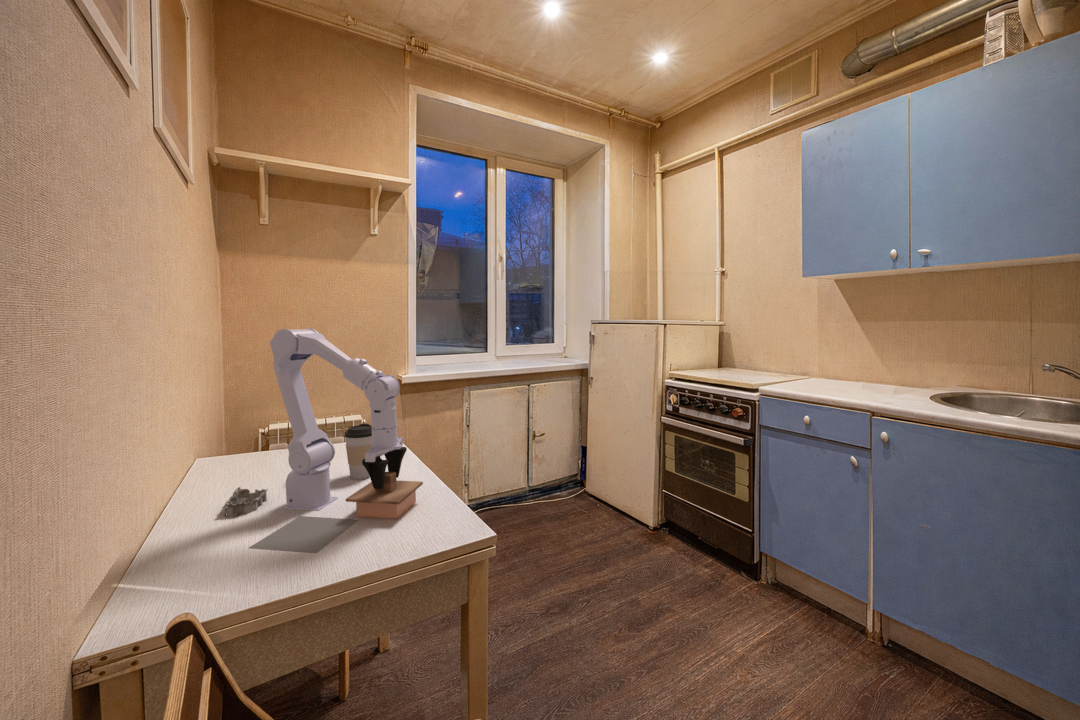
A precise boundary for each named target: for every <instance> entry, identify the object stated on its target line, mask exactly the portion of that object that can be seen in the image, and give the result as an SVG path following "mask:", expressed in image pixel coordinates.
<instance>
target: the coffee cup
mask: <svg viewBox="0 0 1080 720" xmlns="http://www.w3.org/2000/svg"><path fill="white" fill-rule="evenodd" d="M344 437H345V448H346V449H345V451H346V456H347V458H346V459H347V463H348V468H349V469H348V470H349V476H350V479H352V478H354V479H353V480H363V479H362V478H365V479H368V478H367V477H370V476H369V474H368V472H367V470H366V468H365V467H364V466H363V464H362V460H363V459H365V453H367V452H368V451H369V449H370V448H371V446H372V425H371V424H369V423H361V424H358V425H352V426H350V427H348V429H347V430H346V431H345V432H344Z"/></svg>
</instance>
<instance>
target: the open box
mask: <svg viewBox="0 0 1080 720" xmlns="http://www.w3.org/2000/svg"><path fill="white" fill-rule="evenodd" d="M416 491H417V490H415V491H414V492H413V493H412V494H411V495H410V496H408V497H407V498H406V499H405V500H404V501H403V502H401V503H400V504H381V503H362V502H355V505H356V518H357V517H358V518H370V519H371V518H372V519H374V518H375V519H388V520H398V519H399V518H400V517H402V515H404V514H405V513H406V512H407V511H408V510H409V509H410V508H411V507H412V506H413V505H414V504H416V502H417V500H416V499H417V496H416V495H417V494H416V493H417V492H416Z"/></svg>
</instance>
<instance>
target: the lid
mask: <svg viewBox="0 0 1080 720" xmlns="http://www.w3.org/2000/svg"><path fill="white" fill-rule="evenodd" d="M423 484H424V482H423V481H419V480H418V481H416V480H413V481H412V480H397V478H396V472H388V471H385V477H384V486H383V488H382V489H374V488H373V485H372V482H369V483H368V484H366V485H365V486H362V488H360V489H359V490H357V491H355V492H354V493H352V494H351V495H349V496H347V497H346V498H345V503H346V502H347V503H348V502H349V503H356V502H362V503H381V504H400V503H401V502H403V501H404V500H405V499H406V498H407V497H408V496H410V495H411V494H412V493H413V492H414V491H415V490H416V491H417V490H418V489H419V488H420V487H421V486H423Z"/></svg>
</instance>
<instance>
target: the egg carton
mask: <svg viewBox="0 0 1080 720" xmlns="http://www.w3.org/2000/svg"><path fill="white" fill-rule="evenodd" d="M268 490H269V489H268V488H267V489H264V488H262V489H260V490H259V489H255V490H254V492H250V490H249V488H241V486H238V487H237V488H236V489H234V492H232V493H233V494H232V495H231V496H230V497H229V499H227V501H225V503H224V505H223V506H222V509H224V512H225V513H224V515H225V514H227V515H226V516H230V517H234V516H236V515H240V514H239V513H241V514H243V515H245V514H249V513H252V512H254V511H257V510H258V508H260V507H261V506H263V505H264V504H263V503H264V502H267V500H268V497H267V492H268ZM235 514H236V515H235Z"/></svg>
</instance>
